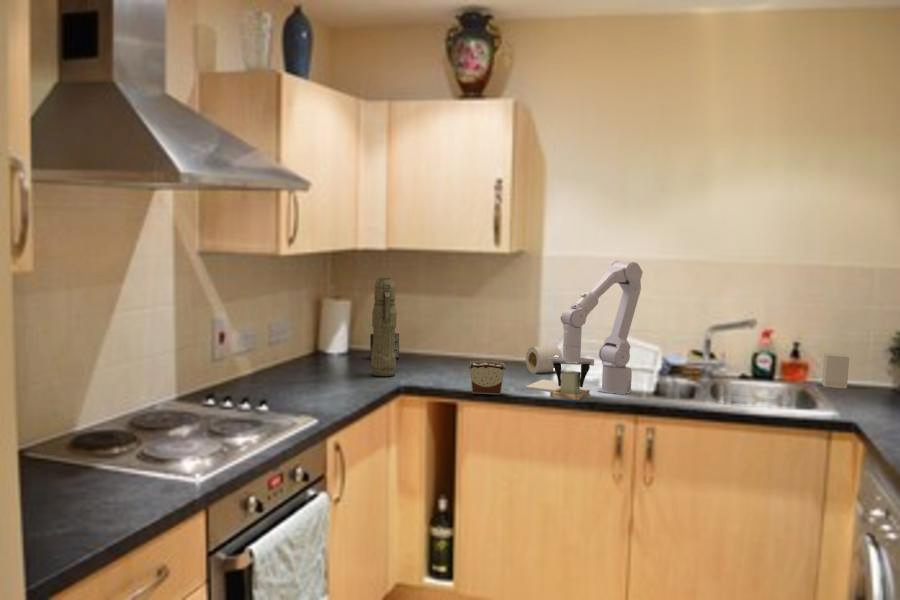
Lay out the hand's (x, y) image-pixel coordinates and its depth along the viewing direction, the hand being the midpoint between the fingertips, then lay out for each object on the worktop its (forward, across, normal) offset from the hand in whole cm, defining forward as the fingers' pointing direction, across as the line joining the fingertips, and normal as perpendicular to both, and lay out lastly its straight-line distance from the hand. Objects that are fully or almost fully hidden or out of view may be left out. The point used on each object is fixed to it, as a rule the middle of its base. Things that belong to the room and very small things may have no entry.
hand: (570, 386), depth 257 cm
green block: (+2, 0, 0) cm, 2 cm away
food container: (+3, +27, 0) cm, 28 cm away
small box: (+3, +71, -57) cm, 91 cm away
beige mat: (+3, +6, -13) cm, 15 cm away
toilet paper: (+3, +7, -40) cm, 41 cm away
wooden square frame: (+3, 0, 0) cm, 3 cm away
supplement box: (+3, -96, -30) cm, 101 cm away
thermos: (+3, +66, -24) cm, 70 cm away
